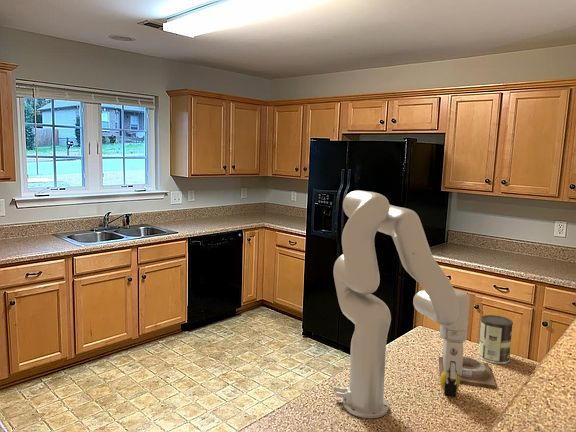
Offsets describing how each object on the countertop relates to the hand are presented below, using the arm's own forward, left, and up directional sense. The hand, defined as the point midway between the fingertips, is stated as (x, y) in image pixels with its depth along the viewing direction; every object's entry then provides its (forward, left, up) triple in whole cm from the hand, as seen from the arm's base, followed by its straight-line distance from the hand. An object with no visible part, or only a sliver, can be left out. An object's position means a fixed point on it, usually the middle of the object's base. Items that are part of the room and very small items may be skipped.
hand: (449, 390), depth 132 cm
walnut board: (+6, +16, -1) cm, 17 cm away
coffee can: (+17, +32, -1) cm, 36 cm away
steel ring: (+6, +16, -1) cm, 17 cm away
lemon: (0, 0, -1) cm, 1 cm away
